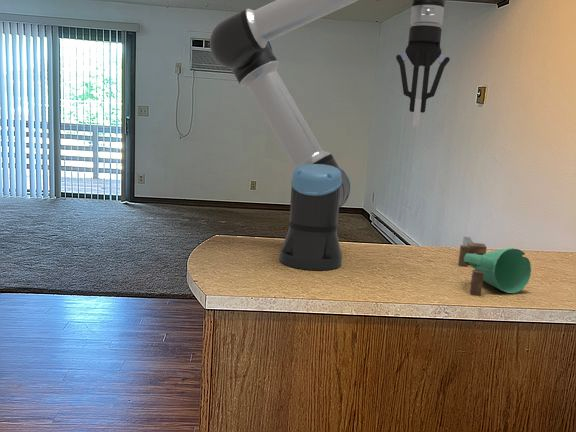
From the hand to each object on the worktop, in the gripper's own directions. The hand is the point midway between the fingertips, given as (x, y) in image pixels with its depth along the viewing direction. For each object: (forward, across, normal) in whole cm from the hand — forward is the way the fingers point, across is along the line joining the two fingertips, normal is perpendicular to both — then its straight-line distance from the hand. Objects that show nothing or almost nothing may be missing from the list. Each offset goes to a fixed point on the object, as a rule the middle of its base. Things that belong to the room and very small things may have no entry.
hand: (415, 125), depth 139 cm
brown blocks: (+34, +19, -12) cm, 41 cm away
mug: (+30, +16, -11) cm, 36 cm away
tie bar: (+34, +19, +5) cm, 40 cm away
